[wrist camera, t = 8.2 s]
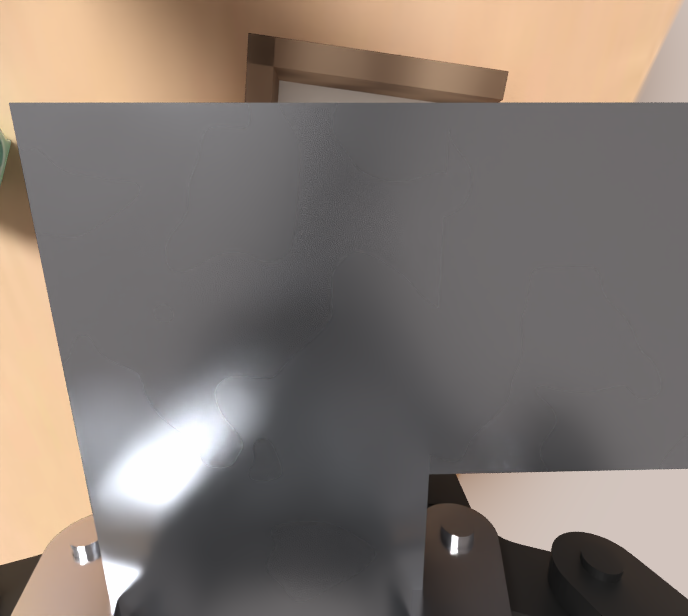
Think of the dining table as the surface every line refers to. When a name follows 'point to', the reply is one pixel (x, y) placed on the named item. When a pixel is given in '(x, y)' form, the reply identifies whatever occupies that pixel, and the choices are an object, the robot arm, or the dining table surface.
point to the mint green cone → (3, 153)
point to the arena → (364, 73)
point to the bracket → (349, 326)
